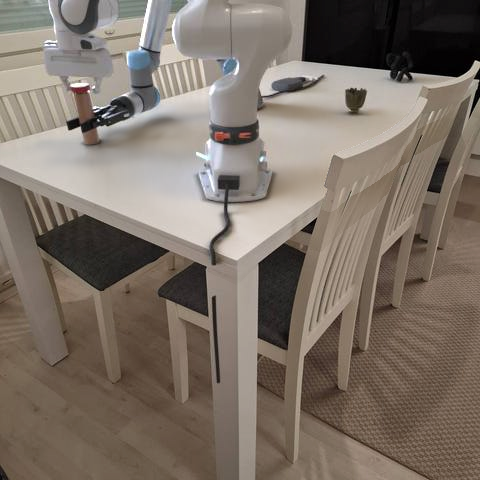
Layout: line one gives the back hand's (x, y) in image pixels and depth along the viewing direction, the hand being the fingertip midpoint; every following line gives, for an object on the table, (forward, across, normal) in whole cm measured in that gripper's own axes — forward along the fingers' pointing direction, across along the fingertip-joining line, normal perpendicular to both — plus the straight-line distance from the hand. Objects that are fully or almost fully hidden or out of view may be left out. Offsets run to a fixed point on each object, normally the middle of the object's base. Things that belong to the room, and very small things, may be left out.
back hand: (75, 127), depth 130 cm
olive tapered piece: (-67, -66, -6) cm, 94 cm away
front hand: (-6, 0, +9) cm, 10 cm away
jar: (-5, 0, -6) cm, 8 cm away
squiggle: (-125, -72, -6) cm, 145 cm away
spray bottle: (-98, -32, -6) cm, 103 cm away
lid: (-5, 0, +11) cm, 12 cm away
